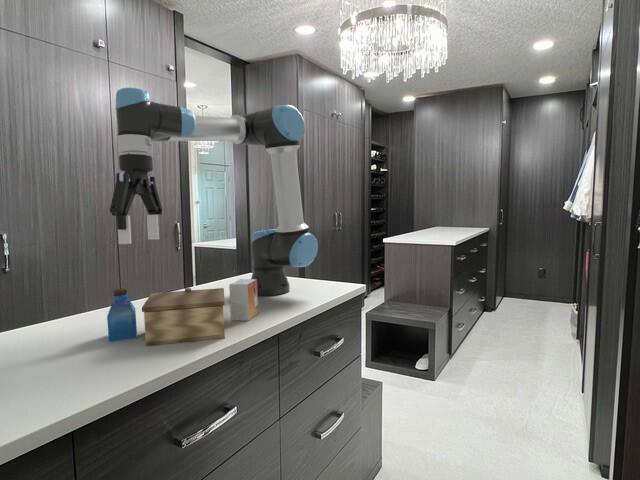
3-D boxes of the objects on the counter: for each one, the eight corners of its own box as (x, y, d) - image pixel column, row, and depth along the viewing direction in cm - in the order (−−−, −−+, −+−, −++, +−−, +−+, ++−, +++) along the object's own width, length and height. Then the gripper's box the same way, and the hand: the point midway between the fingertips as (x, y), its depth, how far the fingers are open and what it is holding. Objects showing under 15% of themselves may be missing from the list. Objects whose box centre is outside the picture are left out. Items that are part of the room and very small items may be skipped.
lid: (224, 291, 114) (223, 285, 114) (224, 305, 101) (224, 297, 100) (151, 296, 110) (151, 290, 110) (142, 311, 96) (141, 304, 96)
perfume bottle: (110, 334, 107) (107, 289, 106) (136, 331, 109) (133, 286, 108) (108, 341, 101) (105, 293, 100) (136, 338, 103) (133, 290, 102)
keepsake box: (224, 322, 115) (222, 294, 114) (224, 338, 101) (223, 306, 101) (155, 329, 111) (153, 299, 110) (146, 346, 97) (143, 312, 96)
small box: (249, 321, 116) (247, 284, 115) (230, 320, 117) (228, 283, 116) (259, 313, 123) (257, 278, 122) (241, 313, 125) (239, 278, 124)
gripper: (121, 147, 88) (127, 245, 90) (172, 160, 113) (176, 237, 115) (88, 148, 89) (94, 246, 91) (146, 161, 114) (150, 238, 115)
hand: (140, 241), depth 103 cm, fingers open, 13 cm apart
